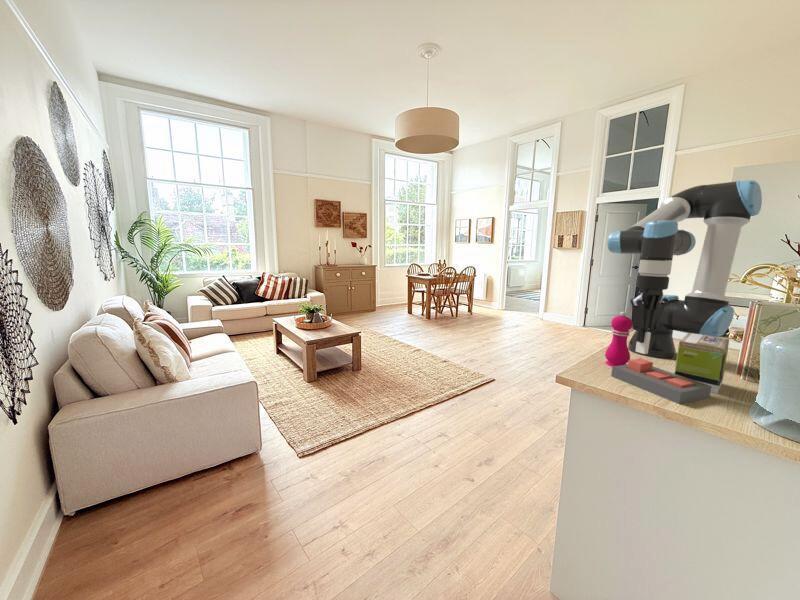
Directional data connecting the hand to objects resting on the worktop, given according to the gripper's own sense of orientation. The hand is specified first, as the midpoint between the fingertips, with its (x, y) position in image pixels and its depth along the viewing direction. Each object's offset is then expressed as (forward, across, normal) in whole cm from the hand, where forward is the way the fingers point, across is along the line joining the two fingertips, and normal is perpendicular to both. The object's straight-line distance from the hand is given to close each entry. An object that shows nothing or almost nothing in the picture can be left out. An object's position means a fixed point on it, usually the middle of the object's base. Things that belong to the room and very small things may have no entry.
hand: (641, 352), depth 100 cm
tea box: (+10, -16, +7) cm, 20 cm away
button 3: (+8, 0, +11) cm, 14 cm away
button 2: (+9, 0, +5) cm, 10 cm away
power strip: (+10, 0, +2) cm, 10 cm away
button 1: (+7, 0, 0) cm, 7 cm away
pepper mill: (+10, -5, -11) cm, 16 cm away
